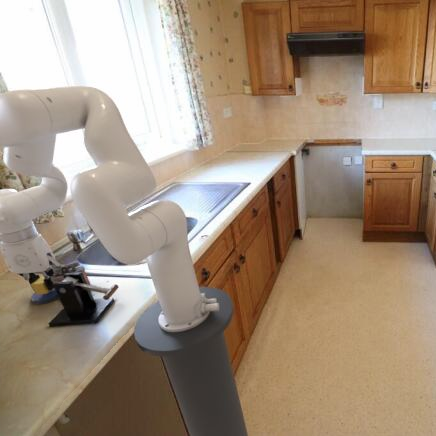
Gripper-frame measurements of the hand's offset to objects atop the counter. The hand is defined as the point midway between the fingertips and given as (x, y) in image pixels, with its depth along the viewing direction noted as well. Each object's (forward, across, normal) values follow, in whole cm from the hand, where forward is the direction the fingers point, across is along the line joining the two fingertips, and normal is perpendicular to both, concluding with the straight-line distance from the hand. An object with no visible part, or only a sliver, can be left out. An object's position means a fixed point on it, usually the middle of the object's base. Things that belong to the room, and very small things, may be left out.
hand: (46, 287), depth 96 cm
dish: (+3, 0, 0) cm, 3 cm away
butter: (+1, 0, 0) cm, 1 cm away
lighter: (+3, +8, 0) cm, 8 cm away
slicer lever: (-4, +20, -10) cm, 23 cm away
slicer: (+3, +16, -10) cm, 19 cm away
